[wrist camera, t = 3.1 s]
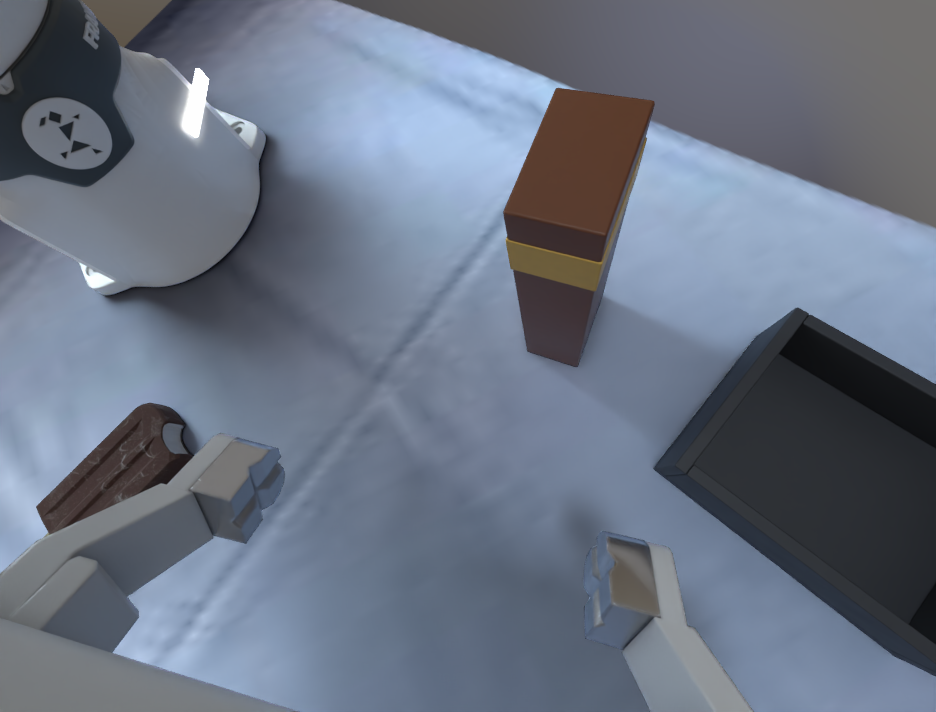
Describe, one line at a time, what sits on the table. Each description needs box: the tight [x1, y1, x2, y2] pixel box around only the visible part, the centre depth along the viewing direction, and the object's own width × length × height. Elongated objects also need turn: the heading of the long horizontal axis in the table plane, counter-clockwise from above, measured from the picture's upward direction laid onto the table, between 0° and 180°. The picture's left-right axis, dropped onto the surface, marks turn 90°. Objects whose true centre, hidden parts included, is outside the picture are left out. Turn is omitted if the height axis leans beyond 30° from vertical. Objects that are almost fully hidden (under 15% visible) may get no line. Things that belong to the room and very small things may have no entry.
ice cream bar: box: [36, 403, 193, 538], centre depth 27 cm, size 5×2×15 cm
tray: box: [654, 308, 936, 676], centre depth 19 cm, size 12×10×4 cm
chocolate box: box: [503, 88, 654, 367], centre depth 19 cm, size 3×5×14 cm, turn 158°
